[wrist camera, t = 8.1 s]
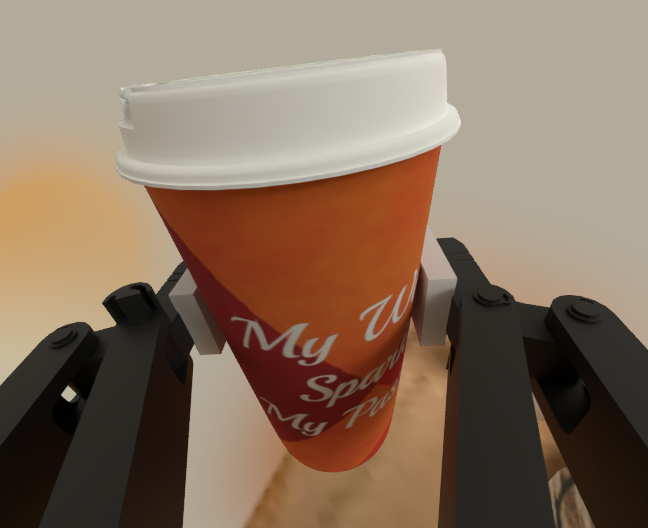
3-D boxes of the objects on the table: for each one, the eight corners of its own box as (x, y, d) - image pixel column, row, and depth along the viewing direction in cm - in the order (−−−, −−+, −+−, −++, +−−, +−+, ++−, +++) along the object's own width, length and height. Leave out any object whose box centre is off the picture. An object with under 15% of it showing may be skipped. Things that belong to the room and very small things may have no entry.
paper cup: (307, 560, 10) (58, 97, 2) (232, 394, 16) (82, 89, 8) (453, 422, 13) (567, 31, 5) (348, 324, 19) (329, 59, 11)
